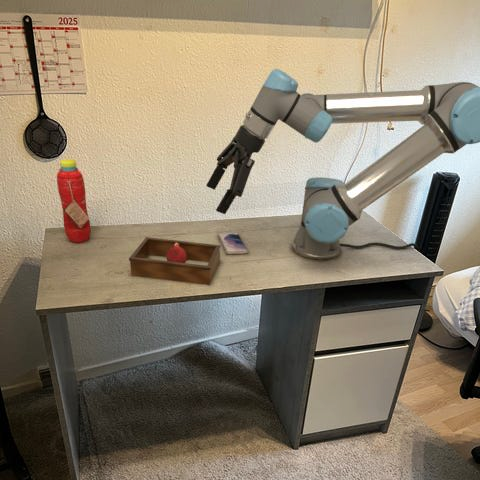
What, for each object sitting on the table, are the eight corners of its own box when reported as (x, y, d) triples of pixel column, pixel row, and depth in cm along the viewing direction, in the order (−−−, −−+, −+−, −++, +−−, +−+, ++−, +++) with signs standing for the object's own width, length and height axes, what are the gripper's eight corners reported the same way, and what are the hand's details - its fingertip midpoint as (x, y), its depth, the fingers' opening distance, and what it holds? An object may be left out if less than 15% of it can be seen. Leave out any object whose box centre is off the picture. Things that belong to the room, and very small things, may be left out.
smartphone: (237, 232, 160) (248, 251, 148) (237, 234, 160) (248, 253, 148) (217, 233, 158) (226, 252, 146) (217, 235, 159) (226, 254, 147)
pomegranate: (183, 274, 135) (182, 248, 131) (164, 271, 136) (163, 246, 131) (189, 265, 140) (188, 240, 135) (170, 262, 141) (169, 238, 136)
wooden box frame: (220, 261, 143) (220, 245, 140) (210, 285, 131) (210, 267, 127) (147, 253, 145) (145, 236, 142) (130, 275, 133) (128, 258, 130)
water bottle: (92, 248, 146) (81, 167, 132) (65, 250, 144) (51, 167, 130) (92, 233, 156) (82, 155, 142) (67, 234, 154) (54, 156, 140)
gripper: (230, 107, 129) (195, 173, 140) (255, 146, 112) (212, 218, 123) (253, 119, 133) (217, 182, 144) (279, 159, 116) (236, 227, 127)
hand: (215, 199), depth 133 cm, fingers open, 13 cm apart
